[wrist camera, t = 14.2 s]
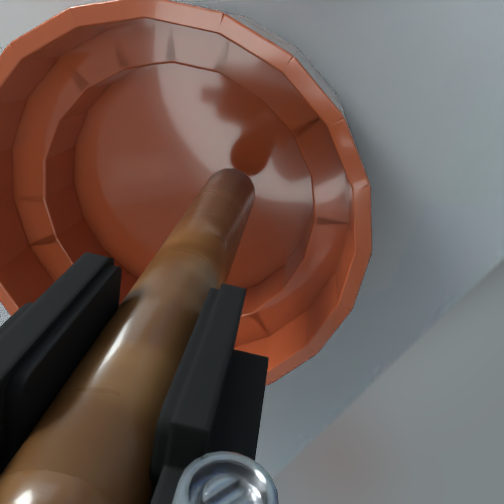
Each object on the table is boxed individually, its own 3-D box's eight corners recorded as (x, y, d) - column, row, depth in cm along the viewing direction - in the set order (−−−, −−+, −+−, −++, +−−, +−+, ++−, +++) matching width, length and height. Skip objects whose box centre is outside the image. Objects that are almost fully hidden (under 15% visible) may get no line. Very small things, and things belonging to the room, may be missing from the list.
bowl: (403, 50, 19) (438, 58, 14) (311, 350, 26) (310, 434, 21) (39, -28, 20) (-64, -50, 14) (40, 286, 26) (-31, 353, 21)
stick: (262, 168, 19) (109, 578, 5) (252, 213, 20) (99, 675, 6) (213, 157, 19) (-79, 530, 5) (206, 203, 20) (-61, 635, 6)
